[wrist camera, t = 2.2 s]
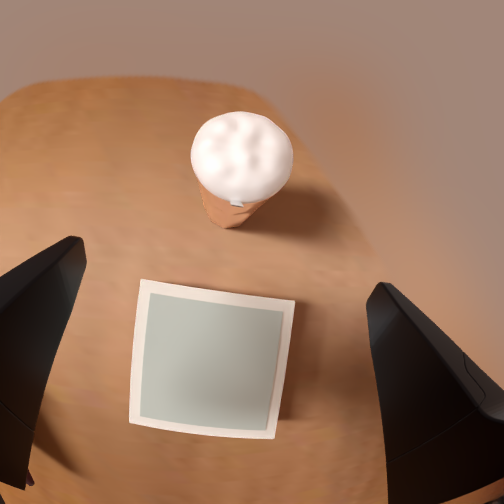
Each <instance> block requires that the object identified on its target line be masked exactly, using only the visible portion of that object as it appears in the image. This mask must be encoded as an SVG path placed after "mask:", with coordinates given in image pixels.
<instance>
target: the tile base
mask: <svg viewBox="0 0 504 504" xmlns="http://www.w3.org/2000/svg"><path fill="white" fill-rule="evenodd" d="M294 307H295V301H291V300H283V299H275V298H267V297H259V296H251V295H243V294H236V293H229V292H222V291H215V290H208V289H201V288H195V287H188V286H182V285H175V284H169V283H163V282H157V281H151V280H145V279H141V282H140V289H139V297H138V304H137V313H136V321H135V331H134V341H133V353H132V366H131V383H130V409H129V423H134V424H139V425H143V426H148V427H154V428H159V429H165V430H171V431H178V432H185V433H192V434H200V435H210V436H221V437H234V438H256V439H274V436H275V431H276V426H277V420H278V414H279V408H280V403H281V397H282V390H283V384H284V378H285V371H286V365H287V358H288V351H289V344H290V337H291V330H292V322H293V315H294Z"/></svg>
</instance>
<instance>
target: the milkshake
mask: <svg viewBox="0 0 504 504" xmlns="http://www.w3.org/2000/svg"><path fill="white" fill-rule="evenodd" d="M191 163H192V167H193V169H194V172H195V175H196V178H197V182H198V185H199V188H200V192H201V196H202V201H203V205H204V208H205V210H206V212H207V214H208V216H209V219H210V221H211V222H213V223H215V224H217V225H219V226H221V227H223V228H230V227H238V226H240V225H241V224H242V223H243V222H244V221H245V220H246V219H247V218H248V217H249V216H250V215H251V214H252V213H253V212H254V211H255V210H256V209H257V208H259V207H260V206H261V205H262V204H264V203H265V202H266V201H267V200H269V199H270V198H271V197H272V196H273V195H275V194H276V193H277V192H278V191H279V190H280V189H281V188H282V187H283V186H284V185H285V184H286V182H287V180H288V179H289V176H290V174H291V170H292V165H293V150H292V145H291V142H290V140H289V138H288V136H287V135H286V134H285V133H284V131H282V130H281V129H280V128H279V127H278V126H277V125H276V124H274V123H273V122H272V121H271V120H269V119H268V118H266V117H264V116H261V115H257V114H253V113H248V112H231V113H227V114H223V115H220V116H217V117H215V118H212V119H211V120H209V121H207V122H206V123H205V124H204V125H203V126H202V127H201V128H200V129H199V131H198V133H197V134H196V137H195V139H194V142H193V145H192V149H191Z"/></svg>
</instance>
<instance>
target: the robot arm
mask: <svg viewBox="0 0 504 504" xmlns="http://www.w3.org/2000/svg"><path fill="white" fill-rule="evenodd" d="M86 263H87V260H86V254H85V248H84V242H83V239H82V238H81V237H76V236H68V237H66V238H64V239H63V240H61V241H59V242H57V243H55V244H54V245H52V246H50V247H48V248H47V249H45V250H43V251H41V252H40V253H38V254H36V255H35V256H33V257H31V258H30V259H28V260H26V261H25V262H23V263H21V264H20V265H18V266H17V267H15V268H13V269H12V270H10V271H9V272H7V273H6V274H4V275H2V276H1V277H0V482H3V483H5V484H8V485H10V486H13V487H16V488H19V489H21V490H25V487H26V479H27V472H28V465H29V458H30V452H31V447H32V442H33V437H34V431H35V426H36V422H37V418H38V414H39V409H40V406H41V402H42V398H43V394H44V391H45V387H46V384H47V380H48V377H49V374H50V371H51V367H52V364H53V361H54V358H55V355H56V352H57V349H58V347H59V344H60V341H61V338H62V336H63V333H64V330H65V328H66V325H67V322H68V320H69V317H70V315H71V312H72V309H73V306H74V303H75V300H76V296H77V293H78V290H79V287H80V283H81V280H82V277H83V274H84V271H85V268H86ZM366 310H367V319H368V328H369V338H370V348H371V354H372V359H373V365H374V371H375V377H376V383H377V389H378V396H379V402H380V410H381V417H382V425H383V434H384V444H385V454H386V462H387V463H386V468H387V484H388V504H504V390H503V389H502V388H501V387H499V386H498V385H497V384H496V383H495V382H494V381H493V380H492V379H491V378H490V377H489V376H487V374H486V373H485V372H483V370H481V369H480V368H479V367H478V366H477V365H476V364H475V363H474V362H473V361H472V360H471V359H470V358H469V357H468V356H467V355H466V354H465V353H464V352H463V351H462V350H461V349H460V348H459V347H458V346H457V345H456V344H455V343H454V342H453V341H452V340H451V339H450V338H449V337H448V336H447V335H446V334H445V333H444V332H443V331H442V330H441V329H440V328H439V327H438V326H437V325H436V324H435V323H434V322H433V321H431V320H430V319H429V318H428V317H427V316H426V315H425V314H424V313H423V312H422V311H421V310H419V308H418V307H416V306H415V305H414V304H413V303H412V302H411V301H410V300H409V299H408V298H407V297H405V296H404V295H403V294H402V293H401V292H400V291H399V290H398V289H396V288H395V287H394V286H393V285H392V284H390V283H385V282H379V283H378V284H377V285H376V287H375V288H374V290H373V292H372V293H371V295H370V297H369V298H368V300H367V304H366ZM0 504H5V502H4V500H3V498H2V496H1V495H0Z"/></svg>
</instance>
